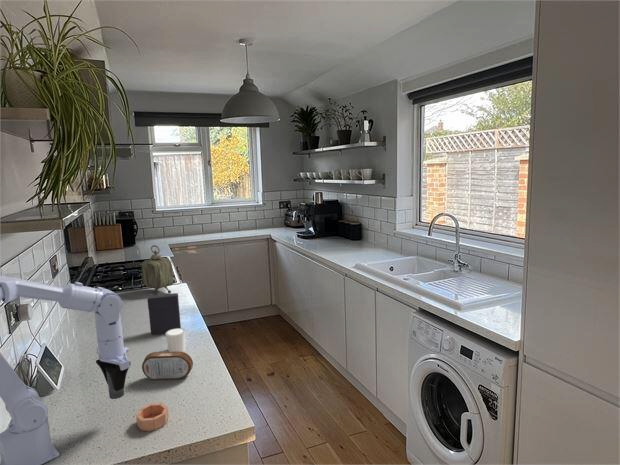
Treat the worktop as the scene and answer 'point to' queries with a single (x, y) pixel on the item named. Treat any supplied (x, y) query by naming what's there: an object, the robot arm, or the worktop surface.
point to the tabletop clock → (157, 272)
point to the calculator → (163, 313)
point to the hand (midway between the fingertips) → (115, 386)
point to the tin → (167, 365)
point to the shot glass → (176, 339)
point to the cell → (112, 392)
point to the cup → (152, 417)
